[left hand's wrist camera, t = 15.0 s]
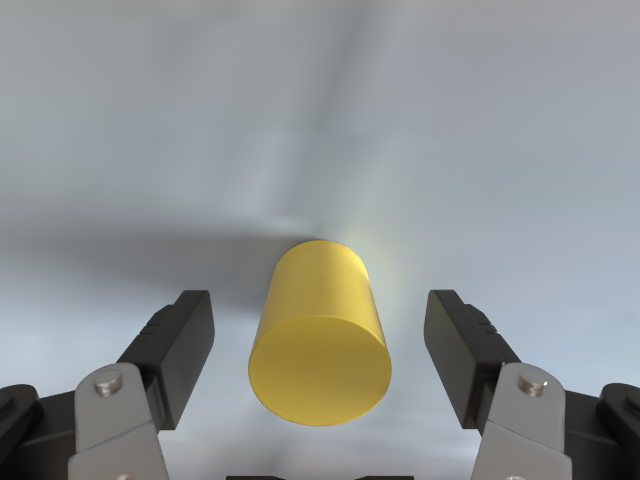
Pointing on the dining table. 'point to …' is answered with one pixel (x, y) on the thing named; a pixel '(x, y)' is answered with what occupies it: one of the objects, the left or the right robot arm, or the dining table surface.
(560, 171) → the dining table surface
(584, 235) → the dining table surface
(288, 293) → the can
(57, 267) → the dining table surface
